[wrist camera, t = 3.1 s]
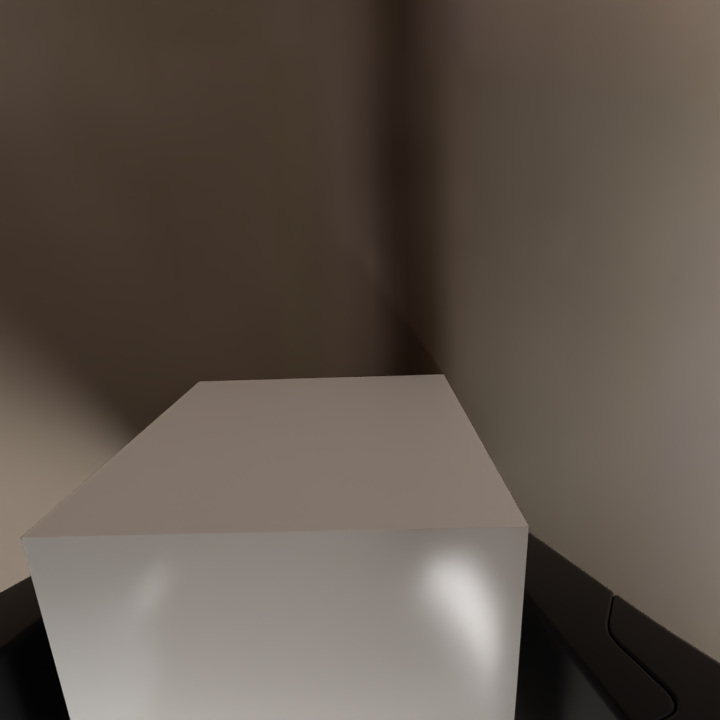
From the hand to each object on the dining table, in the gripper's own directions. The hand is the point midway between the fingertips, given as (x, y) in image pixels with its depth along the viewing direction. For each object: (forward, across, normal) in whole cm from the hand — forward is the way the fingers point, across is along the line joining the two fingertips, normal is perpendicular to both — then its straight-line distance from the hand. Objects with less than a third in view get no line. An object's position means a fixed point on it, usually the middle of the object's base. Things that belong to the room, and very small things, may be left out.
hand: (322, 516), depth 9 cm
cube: (+1, 0, 0) cm, 1 cm away
